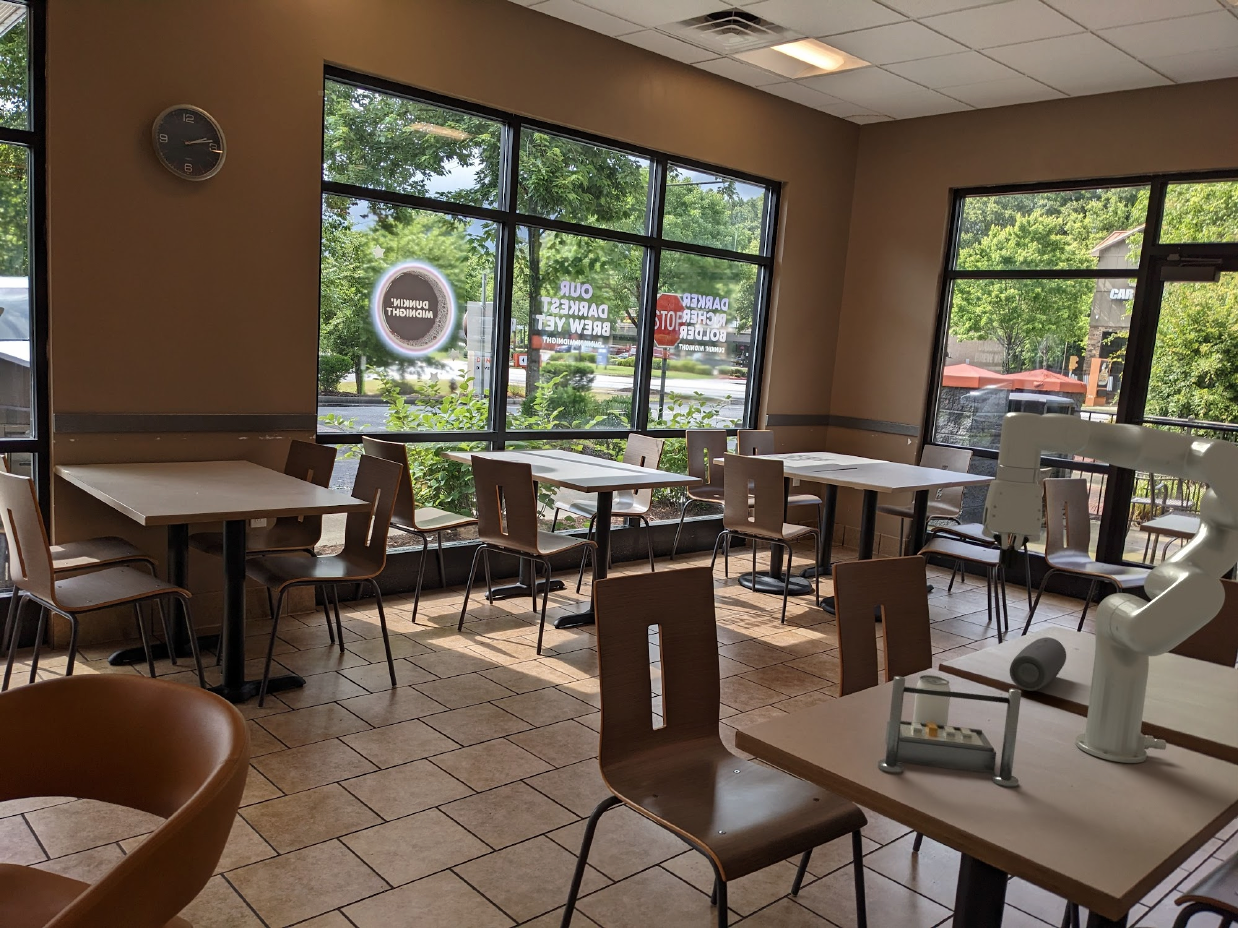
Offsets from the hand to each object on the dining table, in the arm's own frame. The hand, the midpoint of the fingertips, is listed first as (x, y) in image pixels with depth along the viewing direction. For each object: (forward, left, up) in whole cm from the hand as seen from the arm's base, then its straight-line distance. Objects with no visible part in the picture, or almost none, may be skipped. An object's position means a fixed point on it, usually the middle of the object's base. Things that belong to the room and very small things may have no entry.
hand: (1007, 568), depth 187 cm
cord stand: (+12, +21, -35) cm, 42 cm away
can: (+12, +3, -35) cm, 37 cm away
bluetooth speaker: (-22, -43, -35) cm, 60 cm away
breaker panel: (+12, +12, -35) cm, 39 cm away
